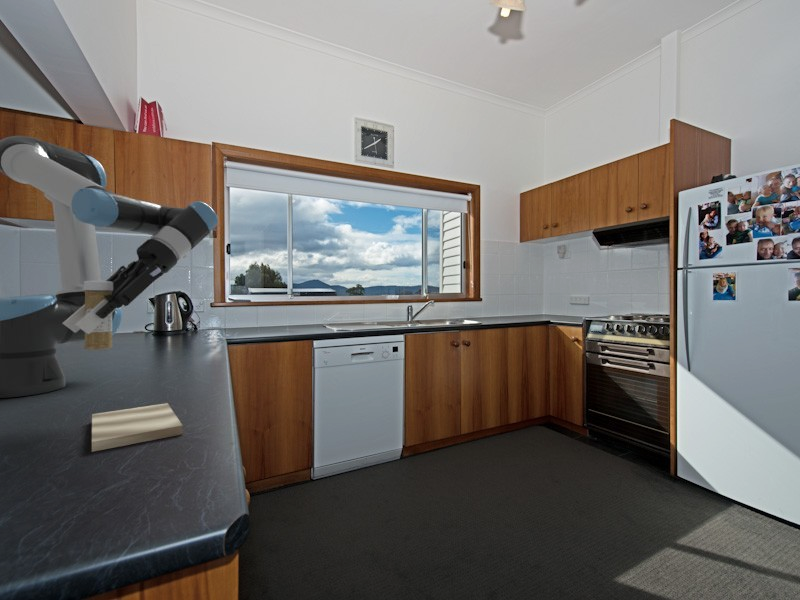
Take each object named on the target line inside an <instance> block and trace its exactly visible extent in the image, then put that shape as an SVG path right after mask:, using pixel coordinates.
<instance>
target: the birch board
mask: <svg viewBox="0 0 800 600" xmlns="http://www.w3.org/2000/svg"><path fill="white" fill-rule="evenodd" d="M183 427H184V426H183V423H181V421H180V420H179V418H178V416H177V415H176V413H175V411H173V409H172V408H171V406H170V405H169V403H168V402H166V403H161V404H160V403H159V404H152V405H146V406H139V407H133V408H126V409H125V408H124V409H118V410H112V411H105V412H98V413H92V414H91V452H92V453H93V452H99V451H104V450H108V449H113V448H114V449H115V448H119V447H124V446H129V445H133V444H139V443H144V442H149V441H155V440H160V439H165V438H169V437H174V436H175V437H176V436H180V435H183V433H184V432H183Z"/></svg>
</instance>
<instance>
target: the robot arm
mask: <svg viewBox="0 0 800 600" xmlns="http://www.w3.org/2000/svg"><path fill="white" fill-rule="evenodd" d="M0 172H1V173H2V174H3V175H5V176H6V177H8V178H10V179H12V180H13V181H14V182H18V183H20V184H24V185H31V186H32V187H33V188H35V189H37V190H39V191H41V192H42V193H43V196H44V198H46V199H47V200H48V201H50V202H51V203H52V211H53V219H54V228H55V237H56V246H57V256H58V265H59V273H60V283H61V289H60V290H58V291H57V292H56V293H55V294H52V293H51V294H49V293H47V294H45V293H44V294H43V293H42V294H29V295H16V296H9V297H7V296H6V297H1V298H0V399H3V398H4V399H7V398H17V397H26V396H33V395H39V394H44V393H49V392H54V391H57V390H61V389H64V388H65V387H66V376H65V374H64V372H63V369H62V367H61V365H60V363H59V360H58V358H57V345H61V344H63V345H65V344H72V343H83V342H84V343H85V333H87V334H90V333H91V332H92V331H93V330H94V329H95V328H96V327H97V326H98V325H99V324H101V323H102V322H103V321H104V320H105V319H106V318H107V317H108V316H109V315H110V314H112V336H113V335H115V334H116V332H118V331H117V330H118V329H119V328H120V326H121V324H122V320H123V309H122V307H123V306H124V307H127V306H129V305H130V304H131V303H132V302H133V301H134V300H135V299H136V298H137V297H139V296H140V295H141V294H142V293H143V292H144V291H145V290H146V289H147V288H149V286H150V285H151V284H153V283H154V282H155V281H156V280H158V279H159V278H161V277H162V276H163V275H164V274H167V273H168V272H169V271H170V270H172V269H173V268H174V267H175V266H176V265H177V264H178V262H179V261H181V260H182V259H186V258H187V254H188V253H189V252H190V251H192V250H193V249H194V248H195V247H196V246H197V245H198V244H200V242H201V241H203V239H205V238H206V237H207V236H208V235H210V234H211V233H212V231H213V230H214V229H215V228H216V227H217V225H218V224H219V218H218V215H217V214H216V211H215V210H214V209H213V208H212V207H211V206H210V205H208V204H207V203H205V202H203V201H199V200H196V201H193V202H192V203H190V204H188V205H187V207H185V208H183V207H172V206H167V205H166V206H165V205H161V204H156V203H153V202H150V201H149V202H148V201H145V200H140V199H137V198H131V197H128V196H124V195H121V194H117V193H115V192H113V191H111V190H109V189H106V188H105V187H106V186H107V174H106V170H105V168H104V167H103V165H102V164H101V163H100V161H98V160H97V159H96V158H94V157H93V156H90V155H87V154H85V153H83V152H82V151H77V150H73V149H69V148H66V147H63V146H59V145H56V144H54V143H51V142H47V141H44V140H42V139H39V138H36V137H32V136H25V135H11V136H6V137H4V138H2V139H0ZM96 227H99V228H100V227H101V228H109V229H117V230H123V231H128V232H129V231H130V232H135V233H141V234H147V235H149V236H150V238H149V239H147V240H146V241H144V242H143V243H142V244H140V245H139V246H138V247H137V249H136V255H137V257H138V260H134V261H132V262H130V263H129V264H128V265H127V267H126V266H125V265H121V266H120V267H119V268H118V269H117V270H116V271H115V272H114V273H113V274H112V275H111V276H110V277H109V278H107V279H106V280H105V281H111V282H113V291H112V295H105V296H104V297H105V298H106V299H107V300H108V301H107V300H105V299H103V300H102V301H101V302H100V303H99V304H98V305H96V306H95V307H94V308H93V309H92V310H91V311H90V312H88V313H87V314H86V315H85V290H84V282H85V281H102V278H101V277H102V276H101V268H100V260H99V259H100V258H99V252H98V251H99V250H98V243H97V234H96Z"/></svg>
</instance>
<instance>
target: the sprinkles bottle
mask: <svg viewBox="0 0 800 600" xmlns="http://www.w3.org/2000/svg"><path fill="white" fill-rule="evenodd" d="M84 290H85V315H86V314H87V313H88V312H90V311H91V310H92V309H93V308H94V307H95V306H96V305H98V304H99V303H100V302H101V301H102V300H103V299H105V300H107V299H106V298H105V297H104V296H105V295H112V291H113V282H111V281H106V280H101V281H85V282H84ZM107 301H108V300H107ZM112 347H113V335H112V314H110V315H109V316H108V317H107V318H106V319H105V320H104V321H103V322H102V323H101V324H99V325H98V326H97V327H96V328H95V329H94V330H93V331H92V332H91V333H90V334H87V333H85V342H84V345H83V348H84V349H85V350H92V351H93V350H94V351H95V350H105V349H109V348H112Z"/></svg>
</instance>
